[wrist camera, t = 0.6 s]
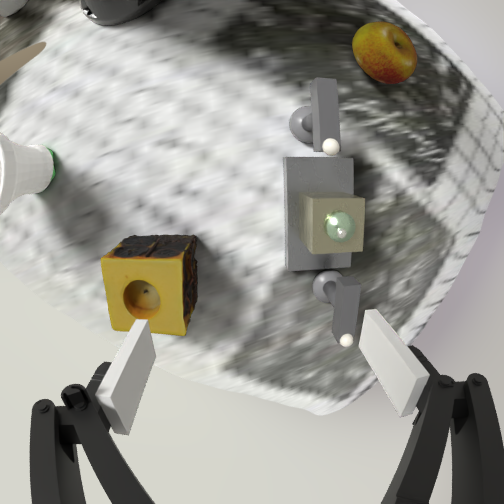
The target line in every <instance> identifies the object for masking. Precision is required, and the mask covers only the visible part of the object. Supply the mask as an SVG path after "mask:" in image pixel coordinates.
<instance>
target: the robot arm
mask: <svg viewBox="0 0 504 504" xmlns="http://www.w3.org/2000/svg"><path fill="white" fill-rule="evenodd" d="M160 1H161V0H79V2H80V6H81V9H82V11H83V13H84V14H85V15H86V16H87V17H88V18H89V19H90V20H91V21H93V22H94V23H96V24H100V25H116V24H121V23H124V22H127V21H130V20H133V19H135V18H137V17H139V16H141V15H143V14H144V13H146V12H147V11H149V10H150V9H152V8H153V7H154V6H156V5H157V4H158V3H159V2H160ZM359 348H360V350H361V351H362V353H363V355H364V356H365V358H366V360H367V361H368V363H369V365H370V366H371V368H372V370H373V371H374V373H375V375H376V377H377V378H378V380H379V382H380V383H381V385H382V387H383V388H384V390H385V392H386V394H387V396H388V397H389V399H390V401H391V403H392V404H393V406H394V408H395V410H396V412H397V413H398V415H399V417H404V416H407V415H410V414H412V413H413V411H414V409H415V407H417V408H418V410H419V412H418V414H417V416H416V418H415V420H414V422H413V425H414V426H413V429H412V432H411V435H410V438H409V440H408V443H407V446H406V448H405V451H404V454H403V456H402V459H401V461H400V464H399V466H398V468H397V471H396V473H395V475H394V478H393V480H392V482H391V484H390V486H389V488H388V490H387V492H386V494H385V497H384V498H383V500H382V502H381V504H429V500H430V497H431V494H432V491H433V488H434V485H435V482H436V479H437V476H438V472H439V469H440V465H441V462H442V458H443V454H444V450H445V446H446V442H447V437H448V432H449V427H450V431H451V444H452V445H451V446H452V502H451V504H504V447H503V442H502V436H501V432H500V426H499V422H498V418H497V414H496V410H495V406H494V402H493V398H492V395H491V392H490V388H489V385H488V381H487V379H486V378H485V377H484V376H483V375H480V374H477V373H473V374H470V375H469V376H468V378H467V380H466V381H465V382H464V381H463V382H455V381H454V379H452V378H451V377H449V376H447V375H440V374H439V373H438V372H437V370H436V369H435V368H434V367H433V365H432V364H431V363H430V362H429V361H428V360H427V358H426V357H425V356H424V355H423V354H422V352H421V351H420V350H419V349H417V348H416V347H414V346H413V345H412V346H407V345H406V344H405V343H404V342H403V340H402V339H401V338H400V337H399V336H398V334H397V333H396V332H395V331H394V330H393V328H392V327H391V326H390V325H389V324H388V322H387V321H386V320H385V319H384V318H383V317H382V315H381V314H380V313H379V312H378V311H377V309H371V310H365V315H364V321H363V326H362V331H361V337H360V342H359ZM155 358H156V354H155V350H154V345H153V341H152V337H151V332H150V328H149V323H148V320H143V319H136V320H135V322H134V324H133V326H132V327H131V329H130V331H129V333H128V334H127V336H126V338H125V340H124V341H123V343H122V345H121V347H120V349H119V350H118V352H117V354H116V356H115V358H114V360H113V362H104V363H102V364H101V365H100V366H99V367H98V368H97V370H96V371H95V374H94V375H93V377H92V380H90V382H89V384H88V386H87V388H85V387H84V386H82V385H80V384H72V385H69V386H67V387H66V388H65V389H64V390H63V391H62V393H61V398H62V400H63V402H64V404H65V405H66V406H55V405H54V403H53V402H52V401H51V400H49V399H42V400H39V401H38V402H36V403H35V404H34V406H33V408H32V416H31V430H30V482H31V483H30V484H31V497H32V504H86V501H85V497H84V492H83V486H82V481H81V475H80V469H79V464H78V456H77V447H76V444H82V446H83V448H84V451H85V453H86V455H87V457H88V459H89V462H90V464H91V466H92V467H93V470H94V472H95V473H96V476H97V478H98V479H99V481H100V483H101V485H102V487H103V489H104V490H105V492H106V494H107V496H108V497H109V499H110V501H111V502H112V504H155V503H154V501H153V500H152V499H151V498H150V496H149V495H148V494H147V492H146V491H145V489H144V488H143V486H142V485H141V484H140V482H139V481H138V479H137V478H136V477H135V475H134V473H133V472H132V470H131V469H130V467H129V466H128V464H127V463H126V461H125V459H124V458H123V457H122V455H121V453H120V451H119V450H118V448H117V446H116V445H115V443H114V441H113V440H112V437H111V436H110V434H109V429H110V427H112V429H113V431H114V433H117V434H124V435H129V433H130V430H131V427H132V424H133V421H134V417H135V415H136V411H137V409H138V406H139V403H140V400H141V397H142V394H143V391H144V388H145V385H146V383H147V380H148V377H149V374H150V371H151V369H152V366H153V363H154V360H155Z"/></svg>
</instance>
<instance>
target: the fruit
mask: <svg viewBox="0 0 504 504" xmlns="http://www.w3.org/2000/svg"><path fill="white" fill-rule="evenodd" d="M352 47H353V53H354V56H355V58H356V61H357V63H358V64H359V66H360V67H361V68H362V69H363V70H364V71H365V72H366V73H367V74H368V75H369V76H370V77H372V78H373V79H375V80H377V81H379V82H382V83H386V84H396V83H399V82H403V81H404V80H406V79H407V78H409V77H410V76H411V74H412V73H413V72H414V70H415V68H416V65H417V54H416V51H415V48H414V46H413V44H412V42H411V40H410V38H409V37H408V35H407V34H406V33H405V32H404V31H403V30H402V29H400V28H399V27H397V26H395V25H393V24H391V23H388V22H372V23H368V24H366V25H364V26H362V27H361V28H360V29H359V30H358V31H357V32H356V34H355V35H354V37H353V42H352Z"/></svg>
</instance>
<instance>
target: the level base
mask: <svg viewBox="0 0 504 504" xmlns="http://www.w3.org/2000/svg"><path fill="white" fill-rule="evenodd" d="M283 167H284V202H285V266H286V268H287V270H288V271H300V270H315V269H330V268H344V267H351V252H361V251H363V238H364V217H365V198H362V197H359V196H356V195H354V167H353V158H335V157H284V158H283Z"/></svg>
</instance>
